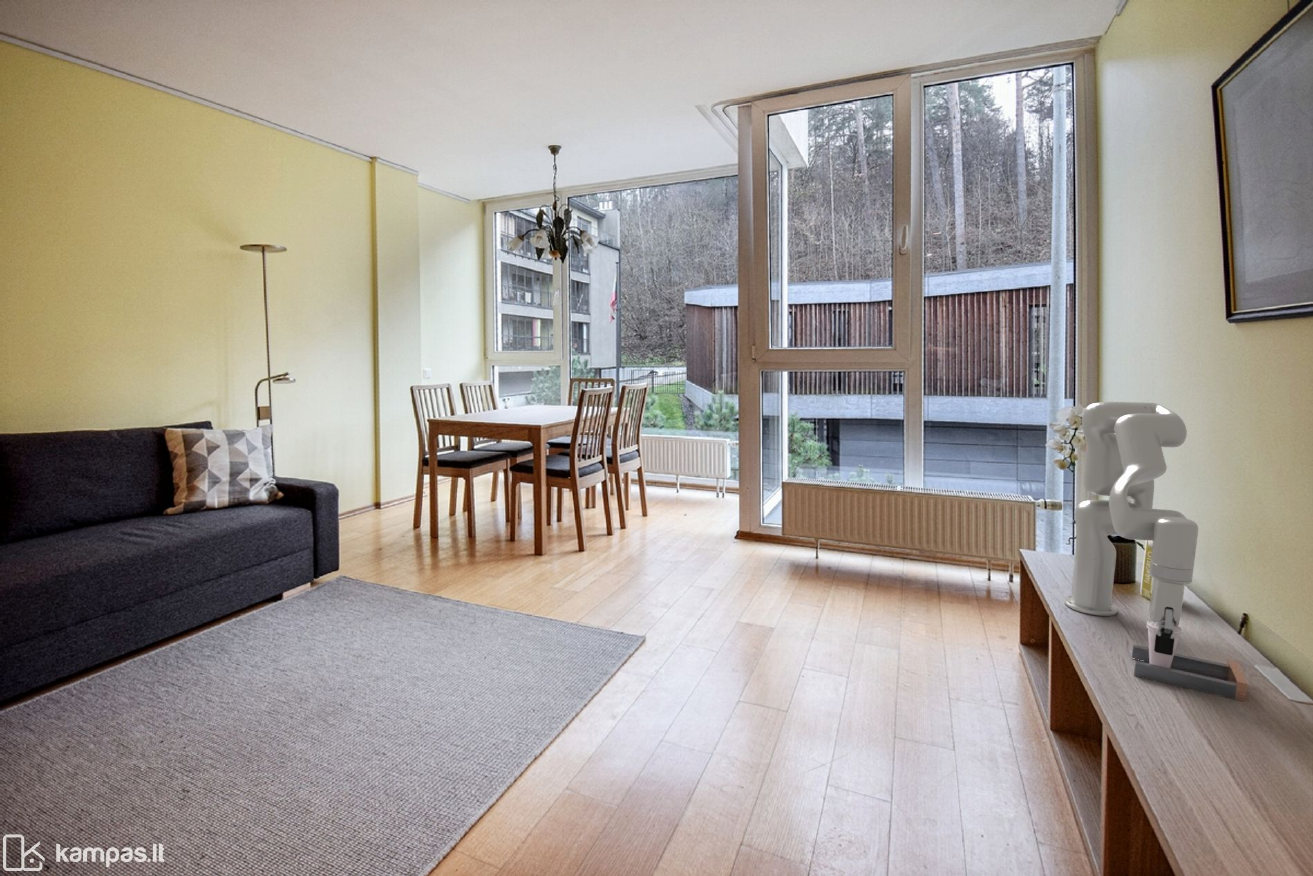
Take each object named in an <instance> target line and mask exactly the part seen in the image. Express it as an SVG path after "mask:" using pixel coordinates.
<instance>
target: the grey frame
mask: <svg viewBox="0 0 1313 876" xmlns="http://www.w3.org/2000/svg"><path fill="white" fill-rule="evenodd" d="M1132 658H1135V659H1134V660H1135V662H1134V669H1133V676H1134V677H1137V676H1139V677H1138V678H1141V677H1144V678H1143V679H1145V678H1148V679H1147V680H1150V679H1151V681H1154V680H1156V681H1155V682H1158V681H1159V682H1158V683H1163V684H1168V685H1172V686H1175V687H1181V688H1184V689H1189V690H1193V691H1197V692H1201V693H1206V694H1211V695H1215V696H1218V697H1224V698H1227V699H1232V700H1236V701H1240V702H1244V703H1245V702H1246V698H1247V697H1246V696H1247V691H1248V690H1247V689H1248V682H1247V680H1246V678H1245V675H1244V674H1243V671H1242V670H1241V669H1242V668H1241V667H1240V664H1239V663H1238V661H1233V660H1229V659H1227V663H1223V662H1218V661H1213V660H1209V659H1204V658H1200V657H1195V656H1189V655H1185V654H1180V653H1176V652H1175V653H1174V657H1173V660H1172V663H1171V667H1170V668H1166V667H1162V666H1157V665H1153V664H1150V663H1149V646H1148V647H1146V646H1142V645H1138V644H1132V652H1131V659H1132ZM1136 659H1137V660H1136ZM1138 659H1139V660H1138ZM1140 660H1144V661H1140ZM1145 661H1148V662H1145ZM1172 667H1173V668H1172ZM1221 678H1222V679H1221Z"/></svg>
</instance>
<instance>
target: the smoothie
mask: <svg viewBox="0 0 1313 876" xmlns="http://www.w3.org/2000/svg"><path fill="white" fill-rule="evenodd" d="M1164 613H1165V612H1164ZM1161 622H1163V623H1165V620H1162V621H1161ZM1146 628H1147V636H1148V637H1147V638H1148V648H1149V662H1148V664H1153V665H1157V666H1162V667H1166V668H1172V667H1171V663H1172V660H1173V657H1174V653H1176V651H1177V646H1178V644H1179V640H1180V636H1182V635H1183V629H1182V627H1180V626H1179V625H1178V626H1176V627H1174V647H1173V654H1172V655H1166V654H1162V653H1157V652H1155V651H1154V647H1155V638H1156V634H1157V635H1158V622H1155V623H1154V622H1152V621H1151V620H1148V621H1147V622H1146ZM1162 628H1164V626H1163V625H1162Z"/></svg>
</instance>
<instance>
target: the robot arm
mask: <svg viewBox="0 0 1313 876" xmlns="http://www.w3.org/2000/svg"><path fill="white" fill-rule="evenodd" d="M1081 416H1082V417H1081V427H1082V428H1081V429H1082V433H1083V435H1084V439H1085V447H1086V448H1085V449H1086V450H1085V463H1084V474H1083V484H1084V489H1085V490H1086V492H1088V494H1091V495H1096V496H1102V497H1103V496H1105V497H1109V498H1108V499H1088V500H1084V501H1081V502H1080V503H1078V504H1077V505H1076V507H1075V510H1074V521H1075V529H1076V530H1075V531H1076V536H1075V537H1076V538H1075V539H1076V540H1075V552H1074V560H1073V561H1074V563H1073V574H1072V583H1071V595H1070V596H1069V595H1068V596H1066V597H1065V598H1064V600H1063V601H1064V602H1063V603H1064V605H1066V606H1067V607H1068V608H1070V609H1072V610H1073V611H1077V612H1080V613H1083V614H1087V615H1093V616H1100V617H1101V616H1102V617H1109V616H1114V615H1116V614H1117V613H1118V607H1117V606H1116V605H1115V604H1113V603H1112V599H1113V588H1114V580H1115V569H1116V560H1117V550H1116V548H1115V545H1114V544H1113V542H1112V541H1111V540H1110V539H1109V538H1108V536H1114V535H1115V536H1119V537H1121V538H1124V539H1126V540H1135V541H1137V540H1138V541H1146V540H1150V541H1153V545H1152V554H1151V562H1150V571H1149V575H1150V576H1151V577H1153V578H1154V580H1153V586H1152V593H1151V600H1150V603H1149V608H1148V612H1149V617H1150V618H1149V619H1150V621H1152V622H1154V623H1155V622H1158V635H1157V634H1156V638H1155V647H1154V651H1155V652H1157V653H1162V654H1166V655H1172V654H1173V647H1174V627H1176V626H1178V627H1179V625H1180V623H1181V622H1180V620H1181V617H1182V610H1183V609H1182V608H1183V604H1184V603H1183V601H1184V596H1185V595H1184V593H1185V585H1189V584H1191V583H1193V575H1194V570H1195V569H1194V568H1195V559H1196V551H1197V545H1198V543H1197V542H1198V535H1199V526H1198V524H1197V523H1196V522H1195V521H1194V520H1192V519H1190V518H1189V519H1188V518H1187V517H1186V516H1185V515H1184V514H1183V513H1182V512H1180V511H1178V510H1172V509H1160V508H1159V509H1157V508H1153V506H1154V493H1155V479H1158V478H1160V477H1162V476H1163V475H1164V474H1165V473H1166V471H1167V468H1168V467H1167V463H1166V460H1165V456H1164V452H1163V448H1179V447H1180V446H1181V445H1183V444H1184V443H1185V441H1186V439H1187V435H1188V434H1187V430H1188V429H1187V427H1186V423H1185V422H1184V420H1183V419H1182V418H1181V416H1180V415H1179V414H1178V413H1176V412H1174V411H1172V410H1171V409H1169V408H1167V407H1165V406H1164V405H1162V404H1159V403H1155V402H1132V401H1130V402H1129V401H1100V402H1094V403H1090V404H1088V405H1087V406H1086V407H1085V409H1084V411H1083V413H1082V415H1081ZM1164 612H1165V613H1164ZM1162 620H1165V623H1163V622H1161V621H1162ZM1162 625H1163V626H1164V628H1162Z"/></svg>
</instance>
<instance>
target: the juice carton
mask: <svg viewBox="0 0 1313 876" xmlns="http://www.w3.org/2000/svg"><path fill="white" fill-rule="evenodd" d="M1144 544H1145V545H1144V551H1143V561H1142V568H1141V569H1142V571H1141V579H1140V596H1141V595H1142V596H1141V597H1144V598H1145V599H1147V598H1148V599H1147V600H1149V599H1150V600H1151V593H1152V586H1153V580H1154V578H1153V577H1151V576H1150V575H1149V571H1150V562H1151V554H1152V545H1153V541H1150V540H1145V543H1144Z"/></svg>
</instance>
